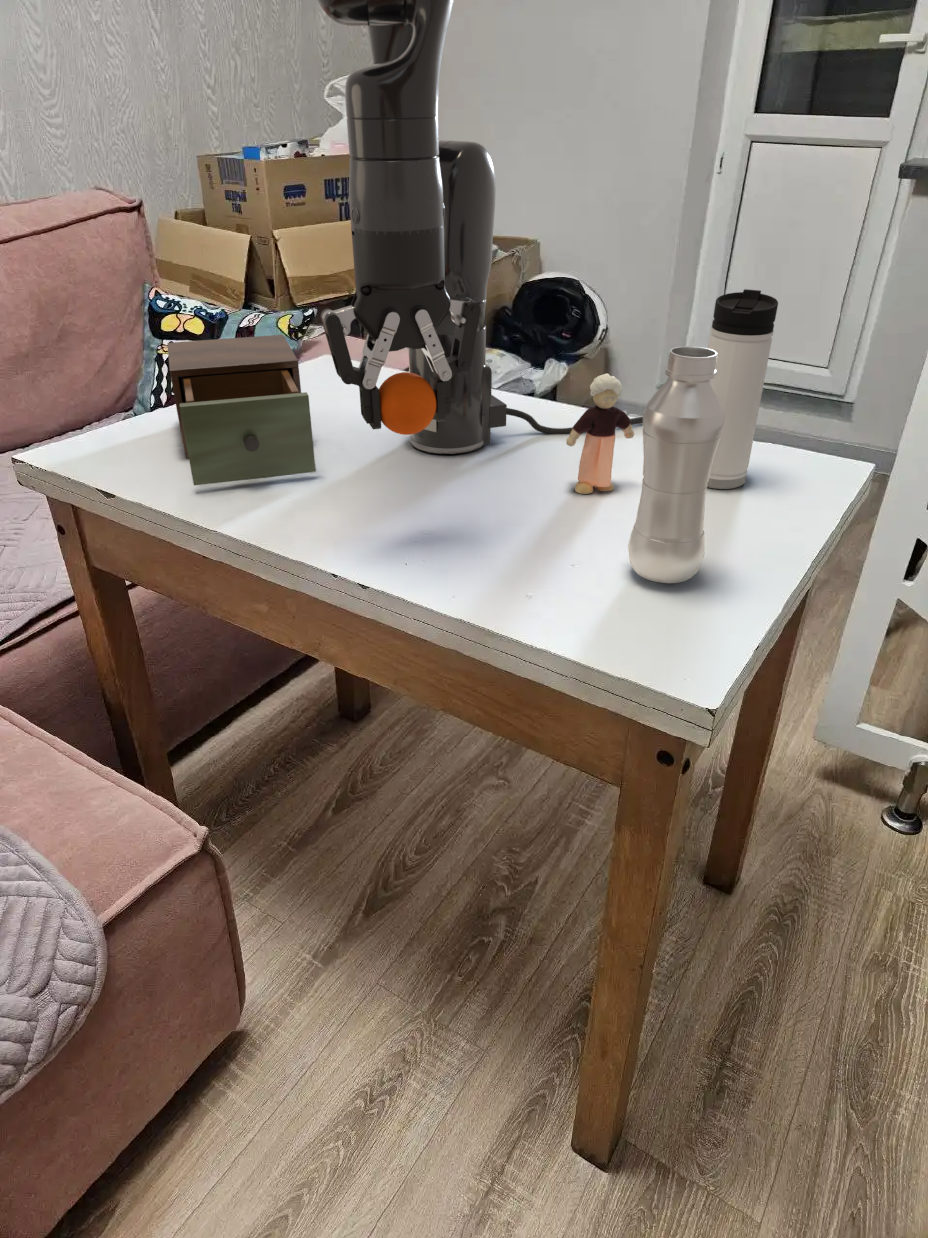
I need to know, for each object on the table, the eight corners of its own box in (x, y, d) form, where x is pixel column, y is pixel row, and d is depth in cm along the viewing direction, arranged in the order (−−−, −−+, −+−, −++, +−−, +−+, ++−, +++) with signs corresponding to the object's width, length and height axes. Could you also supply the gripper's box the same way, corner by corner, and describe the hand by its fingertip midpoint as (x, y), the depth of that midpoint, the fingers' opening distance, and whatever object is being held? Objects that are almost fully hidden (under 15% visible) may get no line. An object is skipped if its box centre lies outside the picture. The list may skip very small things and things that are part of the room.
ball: (424, 419, 81) (422, 361, 78) (446, 437, 77) (445, 377, 74) (369, 427, 79) (365, 369, 76) (389, 447, 75) (385, 385, 72)
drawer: (317, 475, 95) (310, 398, 90) (194, 489, 91) (180, 410, 87) (299, 436, 106) (292, 365, 101) (189, 447, 102) (176, 374, 98)
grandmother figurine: (578, 500, 91) (587, 383, 85) (559, 487, 94) (566, 373, 88) (635, 487, 94) (649, 373, 88) (615, 475, 97) (626, 364, 91)
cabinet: (306, 446, 106) (298, 360, 100) (185, 458, 102) (169, 370, 96) (291, 413, 117) (282, 334, 111) (181, 423, 113) (167, 342, 107)
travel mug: (749, 473, 98) (784, 291, 88) (740, 493, 93) (775, 303, 82) (695, 464, 100) (723, 286, 90) (683, 484, 95) (710, 297, 85)
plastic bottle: (701, 596, 74) (741, 364, 63) (623, 588, 75) (649, 359, 64) (699, 562, 79) (735, 344, 69) (625, 555, 80) (650, 340, 70)
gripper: (466, 210, 73) (467, 401, 82) (301, 219, 69) (321, 418, 79) (496, 221, 67) (494, 426, 76) (317, 231, 63) (337, 446, 73)
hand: (406, 421), depth 77 cm, fingers closed on ball, 5 cm apart
